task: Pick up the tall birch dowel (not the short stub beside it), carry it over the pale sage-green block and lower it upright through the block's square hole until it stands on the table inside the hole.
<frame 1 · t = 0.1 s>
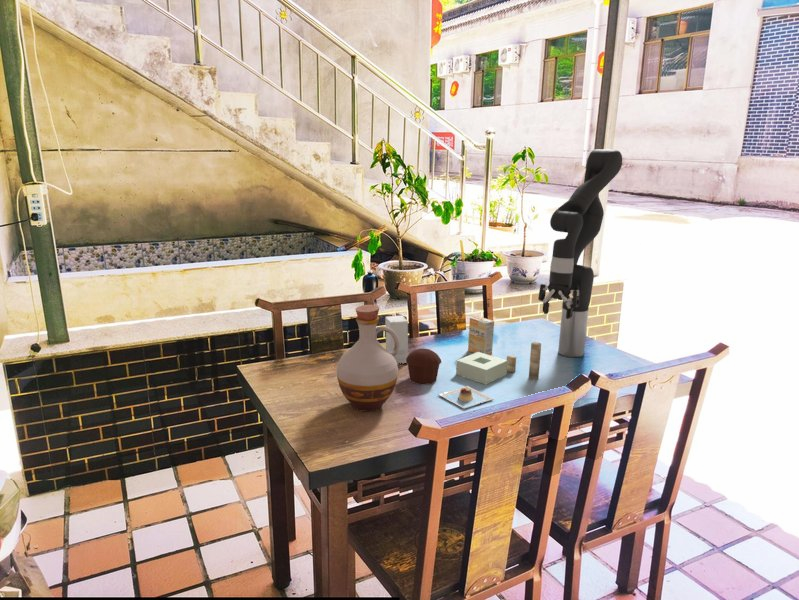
hand: (556, 316, 209), 17 cm above the table, tool pointing down, fingers open, 8 cm apart
long dowel: (533, 377, 199), on the table
jug: (370, 405, 177), on the table
skincare box: (396, 361, 213), on the table
hole block: (481, 374, 201), on the table
supplement box: (479, 353, 222), on the table
muffin: (423, 379, 197), on the table
short dowel: (510, 370, 205), on the table
dessert: (465, 400, 183), on the table
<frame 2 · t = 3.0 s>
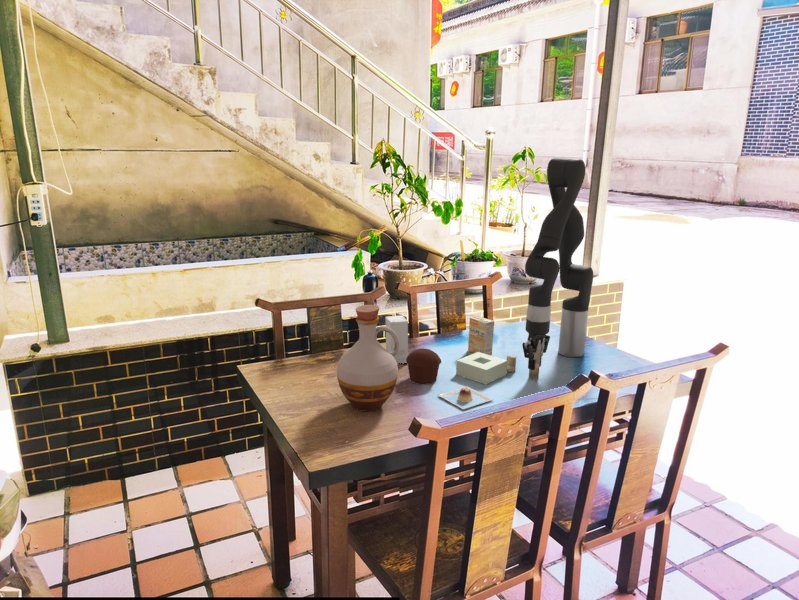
hand: (534, 367, 198), 4 cm above the table, tool pointing down, fingers closed on long dowel, 3 cm apart
long dowel: (533, 377, 199), on the table, touching gripper
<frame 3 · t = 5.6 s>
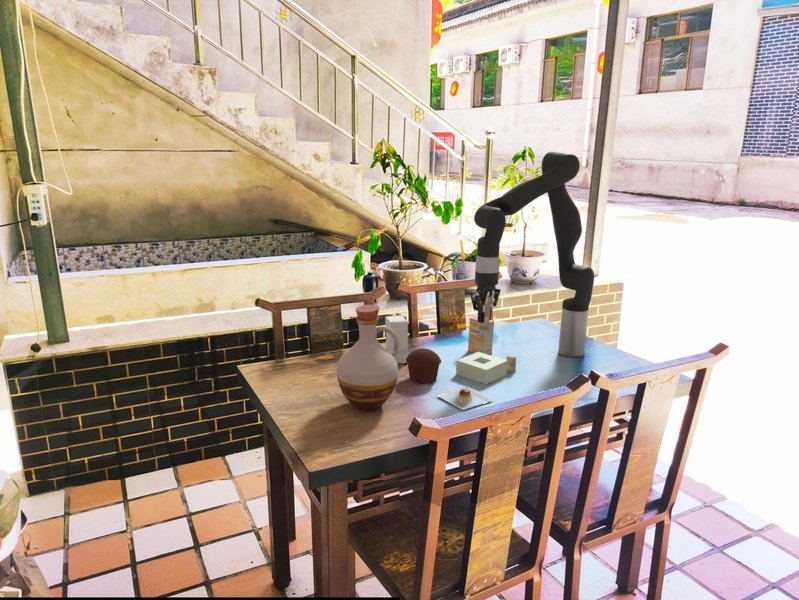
hand: (484, 321, 197), 19 cm above the table, tool pointing down, fingers closed on long dowel, 3 cm apart
long dowel: (483, 331, 198), point 15 cm above the table, touching gripper
when the fingers open (6 cm above the table, at t = 8.2 s): long dowel drops 2 cm, resting in hole block.
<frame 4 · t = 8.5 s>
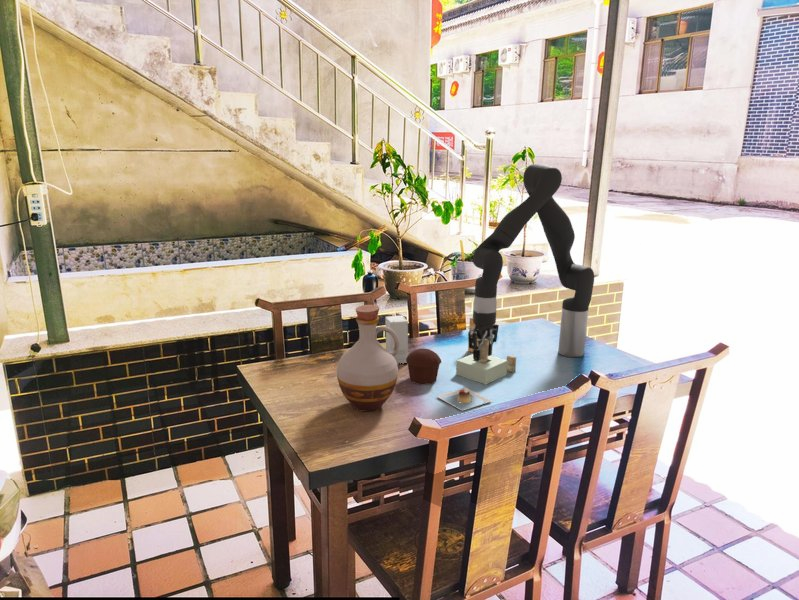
hand: (482, 357, 200), 6 cm above the table, tool pointing down, fingers open, 6 cm apart
long dowel: (481, 374, 201), resting in hole block
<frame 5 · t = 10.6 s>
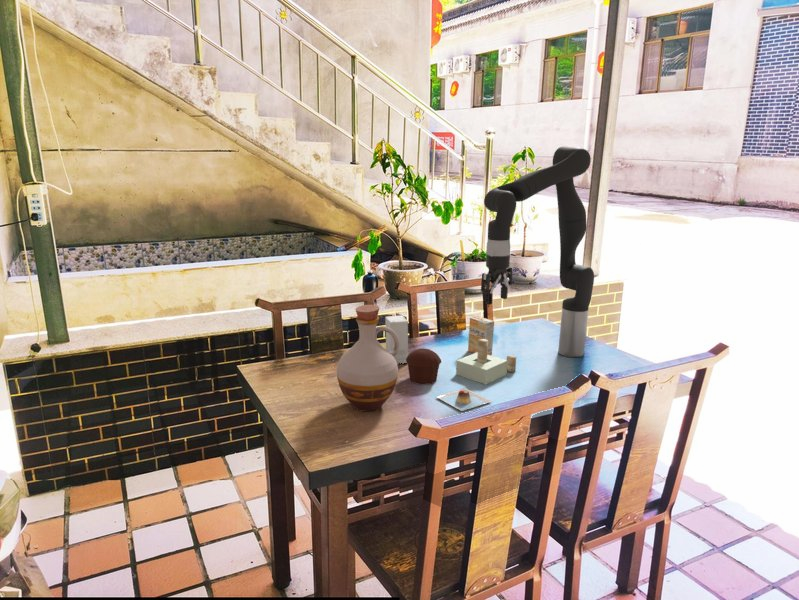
hand: (496, 301, 198), 25 cm above the table, tool pointing down, fingers open, 8 cm apart
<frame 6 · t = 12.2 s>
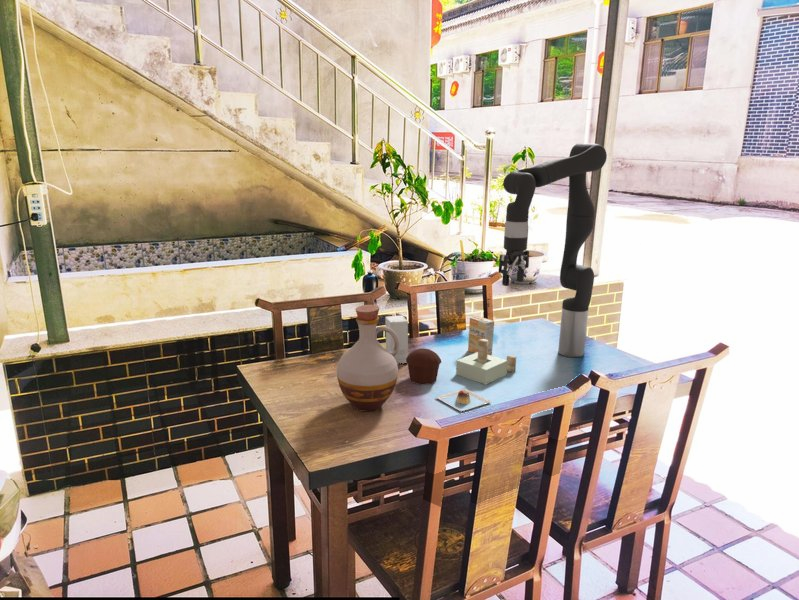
hand: (512, 283, 199), 30 cm above the table, tool pointing down, fingers open, 8 cm apart
at the end: long dowel 0.1 cm off-centre on the hole block, point 0.0 cm above the hole block's base; long dowel tilted 0°; short dowel moved 0.0 cm from its start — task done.
